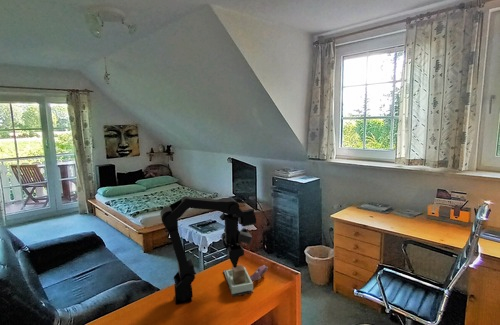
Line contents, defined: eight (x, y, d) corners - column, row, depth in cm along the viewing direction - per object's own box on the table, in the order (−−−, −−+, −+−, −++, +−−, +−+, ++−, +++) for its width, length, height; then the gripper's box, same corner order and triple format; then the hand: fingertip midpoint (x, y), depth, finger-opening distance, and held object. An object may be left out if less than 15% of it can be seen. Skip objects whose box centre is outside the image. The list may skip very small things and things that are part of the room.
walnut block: (235, 284, 125) (234, 271, 124) (232, 278, 130) (232, 266, 129) (245, 282, 127) (244, 269, 126) (242, 277, 131) (242, 264, 130)
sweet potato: (254, 287, 130) (259, 276, 127) (246, 280, 132) (251, 269, 129) (265, 276, 138) (271, 266, 135) (258, 270, 140) (263, 259, 137)
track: (232, 296, 121) (232, 295, 121) (223, 271, 140) (223, 270, 140) (253, 292, 124) (253, 290, 124) (241, 268, 143) (241, 267, 142)
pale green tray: (232, 295, 121) (231, 287, 120) (226, 277, 134) (225, 270, 133) (253, 291, 123) (253, 283, 123) (245, 274, 136) (244, 267, 135)
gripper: (256, 234, 117) (256, 270, 120) (244, 218, 135) (245, 249, 138) (228, 237, 114) (229, 274, 117) (220, 221, 132) (222, 253, 135)
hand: (232, 262), depth 127 cm, fingers open, 9 cm apart
